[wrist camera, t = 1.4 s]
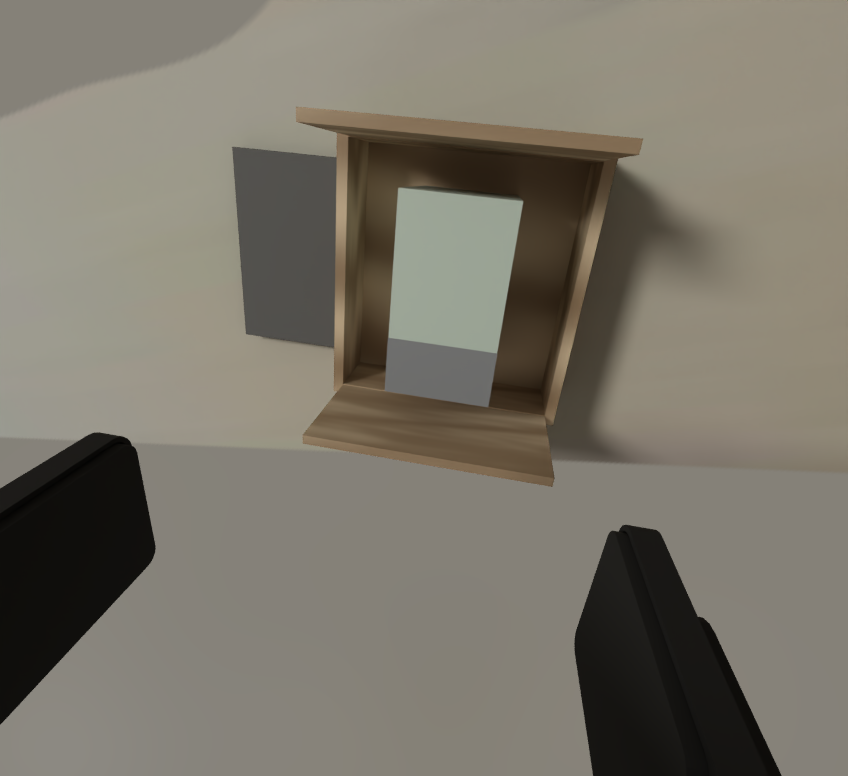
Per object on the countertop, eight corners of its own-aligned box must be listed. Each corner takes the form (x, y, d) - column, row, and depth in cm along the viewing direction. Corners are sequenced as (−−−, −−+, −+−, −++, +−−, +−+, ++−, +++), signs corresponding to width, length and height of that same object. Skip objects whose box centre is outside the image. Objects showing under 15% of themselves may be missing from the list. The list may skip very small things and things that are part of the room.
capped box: (426, 185, 28) (397, 187, 20) (519, 195, 27) (523, 201, 20) (412, 343, 32) (384, 391, 25) (492, 354, 31) (488, 407, 24)
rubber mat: (240, 147, 29) (232, 146, 28) (348, 159, 28) (343, 158, 27) (252, 330, 34) (246, 334, 33) (344, 343, 33) (339, 348, 33)
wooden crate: (361, 130, 28) (280, 103, 18) (602, 153, 26) (661, 138, 16) (354, 365, 34) (291, 442, 24) (546, 394, 33) (564, 489, 23)
